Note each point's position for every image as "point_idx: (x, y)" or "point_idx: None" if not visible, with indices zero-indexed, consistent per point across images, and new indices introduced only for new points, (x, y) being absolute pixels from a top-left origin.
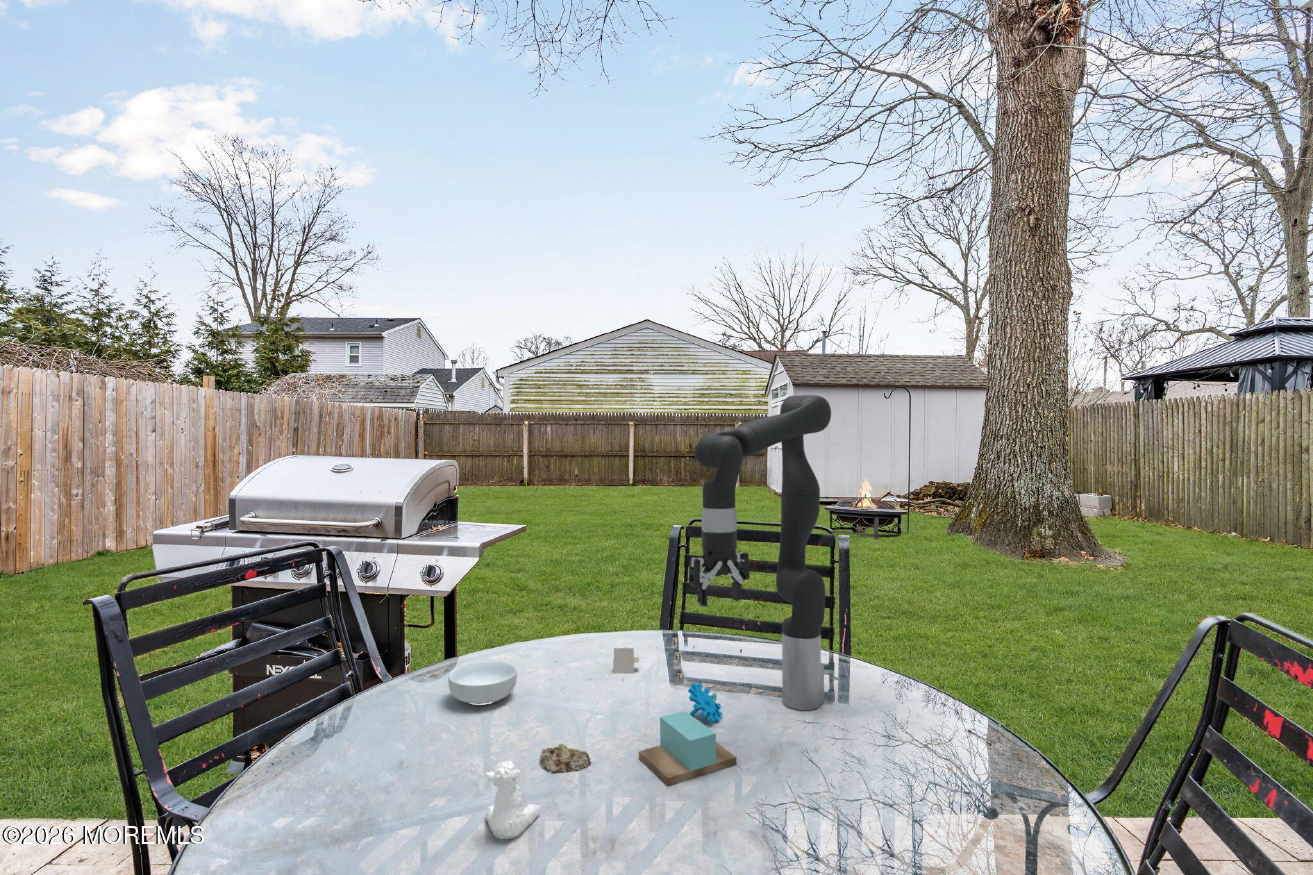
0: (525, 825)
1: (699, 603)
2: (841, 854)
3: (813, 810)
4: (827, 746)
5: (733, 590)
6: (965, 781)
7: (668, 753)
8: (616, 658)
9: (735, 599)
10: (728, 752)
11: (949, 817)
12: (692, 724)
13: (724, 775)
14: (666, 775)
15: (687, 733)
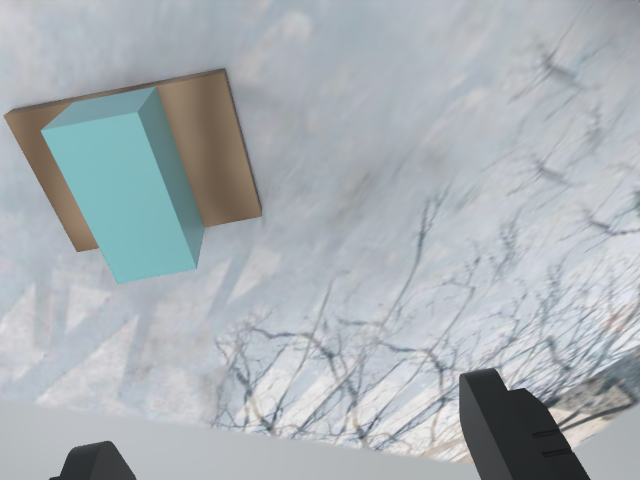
0: None
1: (71, 454)
2: (303, 428)
3: (324, 357)
4: (495, 196)
5: (498, 466)
6: (595, 348)
7: None
8: None
9: (463, 410)
10: (251, 192)
11: None
12: (143, 208)
13: (218, 238)
14: (75, 242)
15: (117, 250)
